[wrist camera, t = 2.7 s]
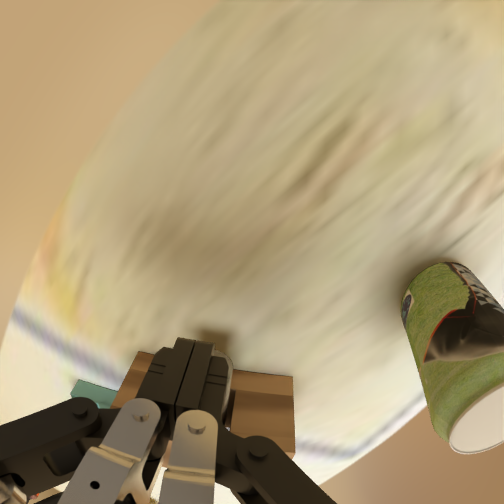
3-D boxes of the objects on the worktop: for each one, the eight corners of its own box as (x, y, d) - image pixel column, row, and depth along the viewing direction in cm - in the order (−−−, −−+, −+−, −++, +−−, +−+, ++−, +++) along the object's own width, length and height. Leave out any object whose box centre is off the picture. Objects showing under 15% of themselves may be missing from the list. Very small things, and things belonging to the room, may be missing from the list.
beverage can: (453, 329, 20) (523, 446, 9) (370, 331, 21) (420, 480, 10) (479, 255, 18) (586, 359, 7) (391, 247, 18) (492, 387, 7)
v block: (75, 378, 25) (54, 411, 21) (138, 397, 25) (122, 436, 21) (94, 429, 29) (79, 459, 24) (148, 445, 29) (137, 479, 24)
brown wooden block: (138, 351, 23) (104, 417, 16) (292, 376, 23) (295, 452, 16) (149, 426, 27) (129, 481, 21) (269, 446, 27) (266, 506, 20)
